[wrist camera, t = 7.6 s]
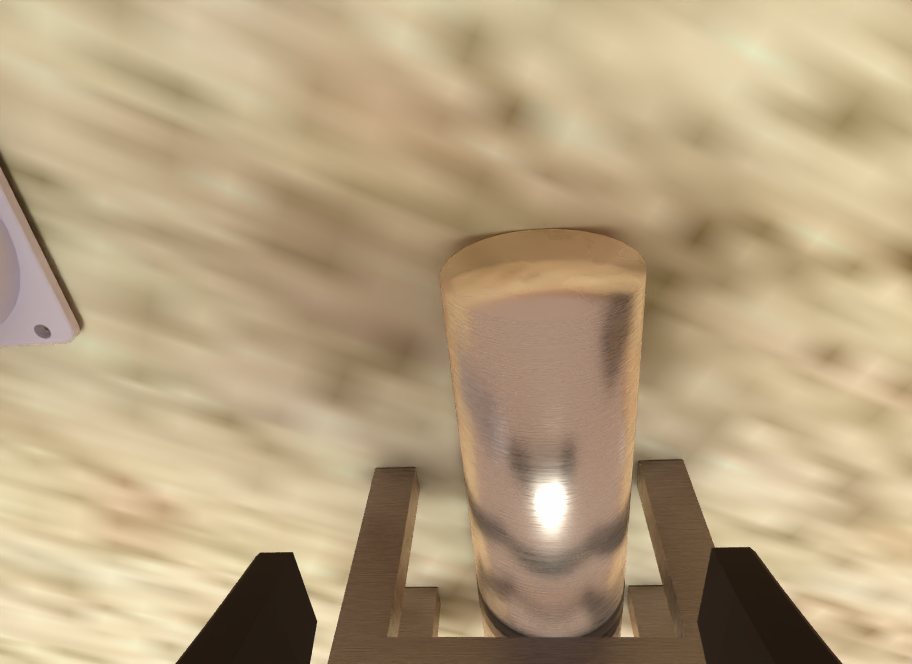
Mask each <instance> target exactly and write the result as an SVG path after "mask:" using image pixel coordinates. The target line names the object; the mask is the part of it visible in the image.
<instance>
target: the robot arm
mask: <svg viewBox="0 0 912 664" xmlns="http://www.w3.org/2000/svg"><path fill="white" fill-rule="evenodd" d="M43 325H44V326H45V327H47V328H48V329H49V330H50V331H48V330H46V329H45V328H44V327H43ZM79 330H80V329H79V325H78V323H77V321H76V319H75V317H74V315H73V313H72V311H71V309H70V307H69V305H68V303H67V301H66V299H65V297H64V295H63V293H62V291H61V289H60V287H59V284H58V282H57V280H56V278H55V276H54V274H53V272H52V270H51V268H50V266H49V264H48V262H47V260H46V258H45V256H44V254H43V252H42V250H41V248H40V246H39V244H38V242H37V240H36V238H35V236H34V234H33V232H32V230H31V228H30V226H29V224H28V222H27V220H26V218H25V216H24V214H23V212H22V210H21V208H20V206H19V204H18V202H17V200H16V198H15V196H14V194H13V192H12V190H11V188H10V186H9V184H8V181H7V179H6V177H5V175H4V173H3V171H2V169H1V167H0V347H5V346H24V345H43V344H62V343H68V342H71V341H72V340H73V339H74V338H75V337H76V336H77V335H78V334H79ZM697 624H698V628H699V633H700V637H701V642H702V647H703V651H704V656H705V660H706V664H842V663H841V661H840V660H839V659H838V658H837V657H836V655H835V654H834V653H833V652H832V651H831V649H830V648H829V647H828V646H827V645H826V643H825V642H824V641H823V640H822V638H821V637H820V636H819V635H818V633H817V632H816V631H815V630H814V628H813V627H812V626H811V625H810V623H809V622H808V621H807V620H806V618H805V617H804V616H803V614H802V613H801V612H800V611H799V609H798V608H797V607H796V606H795V604H794V603H793V602H792V600H791V599H790V598H789V596H788V595H787V594H786V593H785V591H784V590H783V589H782V587H781V586H780V585H779V583H778V582H777V581H776V579H775V578H774V577H773V575H772V574H771V573H770V571H769V570H768V569H767V567H766V566H765V564H764V563H763V562H762V560H761V559H760V558H759V556H758V555H757V554H756V552H755V551H754V550H752V549H751V548H750V547H728V548H711V553H710V558H709V563H708V568H707V574H706V579H705V584H704V589H703V594H702V599H701V604H700V609H699V614H698V619H697ZM316 625H317V620H316V617H315V614H314V611H313V608H312V605H311V603H310V600H309V597H308V594H307V591H306V588H305V585H304V583H303V580H302V577H301V574H300V571H299V568H298V566H297V563H296V560H295V557H294V554H293V552H275V553H259V554H258V555H257V556H256V557H255V559H254V560H253V561H252V563H251V564H250V565H249V567H248V568H247V569H246V571H245V572H244V574H243V575H242V576H241V578H240V579H239V580H238V582H237V583H236V585H235V586H234V587H233V589H232V590H231V591H230V593H229V594H228V595H227V597H226V598H225V600H224V601H223V602H222V604H221V605H220V606H219V608H218V609H217V610H216V612H215V613H214V614H213V616H212V617H211V618H210V620H209V621H208V622H207V624H206V625H205V626H204V628H203V629H202V630H201V632H200V633H199V634H198V635H197V637H196V638H195V639H194V641H193V642H192V643H191V644H190V646H189V647H188V648H187V650H186V651H185V652H184V653H183V655H182V656H181V657H180V658H179V660H178V661H177V662H176V664H310V660H311V655H312V649H313V643H314V637H315V631H316Z"/></svg>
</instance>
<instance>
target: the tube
mask: <svg viewBox="0 0 912 664" xmlns="http://www.w3.org/2000/svg"><path fill="white" fill-rule="evenodd" d="M646 277H647V268H646V264H645V261H644V259H643V258H642V257H641V255H640V254H639V253H638V252H637V251H635V250H634V249H633V248H631V247H630V246H628V245H627V244H625V243H623V242H621V241H619V240H616V239H613V238H611V237H608V236H604V235H601V234H596V233H591V232H586V231H579V230H569V229H534V230H524V231H517V232H511V233H505V234H501V235H497V236H493V237H490V238H486V239H483V240H481V241H478V242H475V243H473V244H471V245H469V246H467V247H465V248H463V249H461V250H460V251H458V252H457V253H455V254H454V255H453V256H452V257H451V258H450V259H448V261H447V262H446V263H445V264H444V266H443V268H442V270H441V273H440V286H441V294H442V302H443V310H444V318H445V326H446V334H447V342H448V350H449V358H450V366H451V373H452V381H453V389H454V397H455V405H456V413H457V421H458V429H459V437H460V445H461V453H462V461H463V469H464V477H465V485H466V493H467V501H468V509H469V517H470V525H471V533H472V541H473V549H474V556H475V564H476V572H477V585H478V593H479V601H480V607H481V612H482V620H483V628H484V636H485V637H620V635H621V621H622V612H623V602H624V588H625V566H626V552H627V539H628V525H629V511H630V497H631V483H632V470H633V456H634V442H635V428H636V415H637V401H638V387H639V373H640V360H641V346H642V332H643V318H644V305H645V291H646Z"/></svg>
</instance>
